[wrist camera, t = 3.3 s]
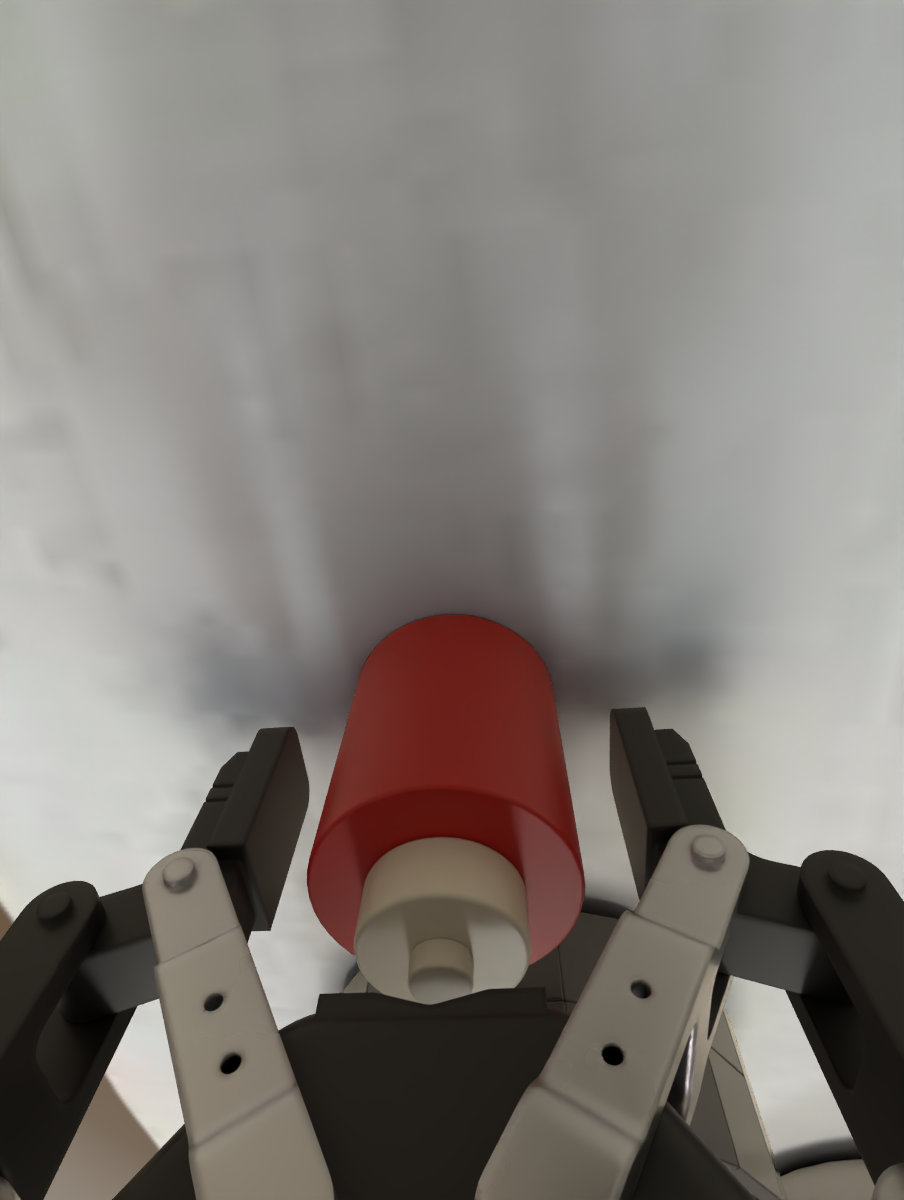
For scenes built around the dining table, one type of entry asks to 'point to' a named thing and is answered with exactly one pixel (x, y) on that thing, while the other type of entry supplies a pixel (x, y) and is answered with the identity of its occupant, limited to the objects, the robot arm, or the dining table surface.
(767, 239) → the dining table surface
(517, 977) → the ketchup bottle
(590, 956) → the grey round hollow bowl
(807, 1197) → the donut
